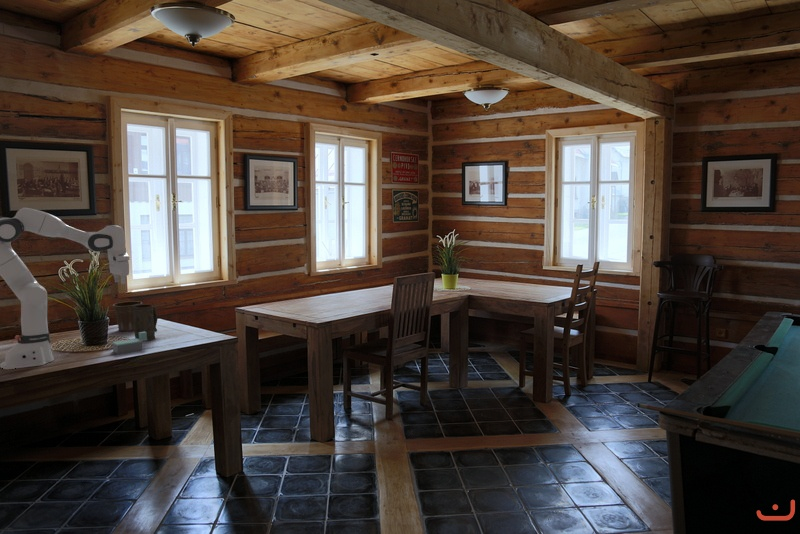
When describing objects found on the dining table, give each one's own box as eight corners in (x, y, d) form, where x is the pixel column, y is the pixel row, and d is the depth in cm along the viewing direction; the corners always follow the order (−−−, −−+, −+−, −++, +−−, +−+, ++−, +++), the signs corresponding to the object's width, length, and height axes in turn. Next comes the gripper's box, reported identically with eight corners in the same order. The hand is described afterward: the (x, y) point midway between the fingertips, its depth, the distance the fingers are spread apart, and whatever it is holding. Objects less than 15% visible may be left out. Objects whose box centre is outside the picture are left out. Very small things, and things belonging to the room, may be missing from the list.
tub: (118, 355, 314) (117, 345, 313) (113, 352, 320) (112, 343, 319) (142, 351, 322) (141, 341, 321) (137, 348, 328) (136, 339, 327)
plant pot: (119, 333, 365) (118, 306, 364) (110, 329, 377) (108, 303, 375) (147, 329, 376) (146, 303, 374) (138, 325, 388) (136, 300, 386)
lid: (117, 346, 313) (116, 337, 313) (112, 343, 319) (112, 335, 319) (148, 341, 323) (148, 333, 323) (143, 339, 329) (142, 330, 329)
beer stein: (147, 342, 340) (146, 306, 340) (129, 342, 343) (129, 306, 342) (163, 338, 355) (162, 303, 355) (146, 338, 358) (145, 303, 357)
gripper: (104, 255, 325) (107, 282, 327) (117, 258, 310) (120, 285, 312) (117, 254, 329) (120, 280, 331) (130, 257, 314) (133, 284, 316)
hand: (120, 283), depth 321 cm, fingers open, 8 cm apart
